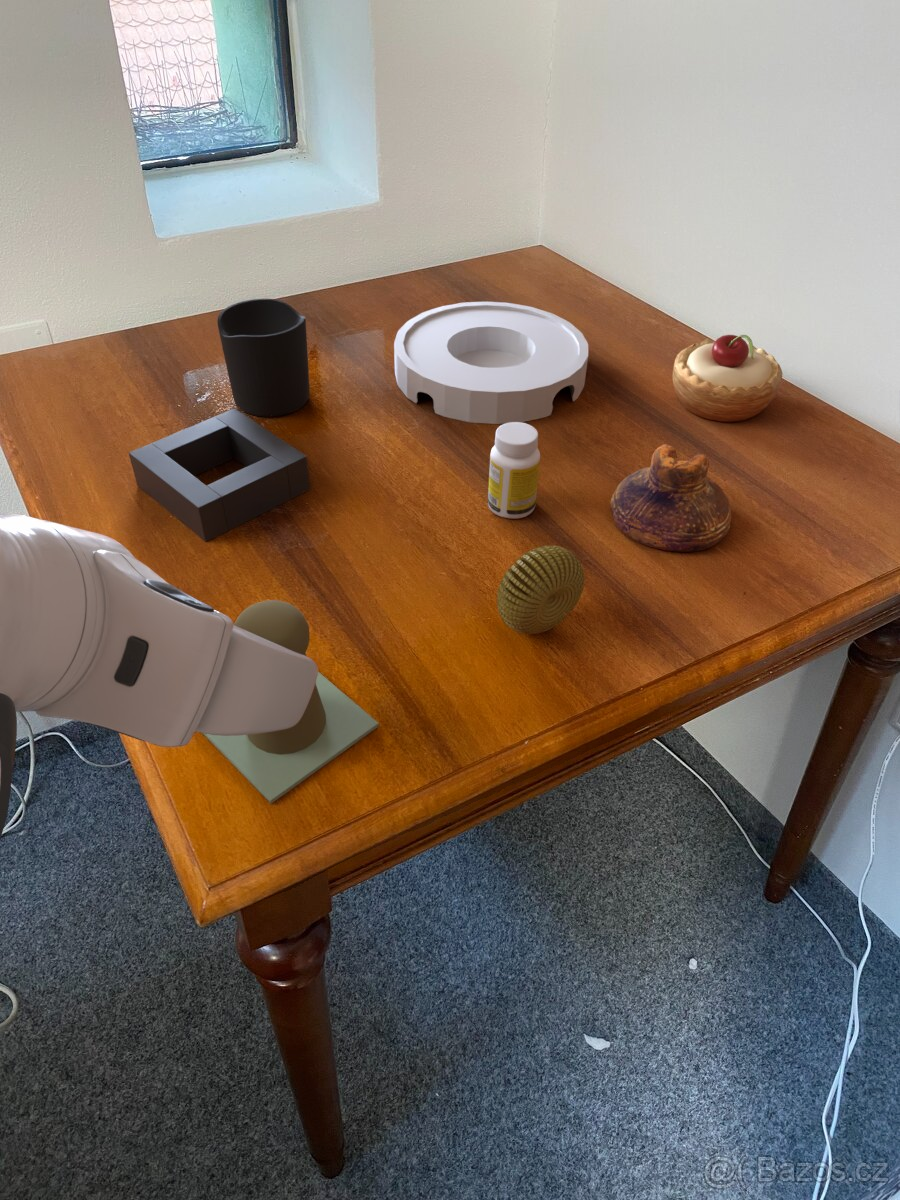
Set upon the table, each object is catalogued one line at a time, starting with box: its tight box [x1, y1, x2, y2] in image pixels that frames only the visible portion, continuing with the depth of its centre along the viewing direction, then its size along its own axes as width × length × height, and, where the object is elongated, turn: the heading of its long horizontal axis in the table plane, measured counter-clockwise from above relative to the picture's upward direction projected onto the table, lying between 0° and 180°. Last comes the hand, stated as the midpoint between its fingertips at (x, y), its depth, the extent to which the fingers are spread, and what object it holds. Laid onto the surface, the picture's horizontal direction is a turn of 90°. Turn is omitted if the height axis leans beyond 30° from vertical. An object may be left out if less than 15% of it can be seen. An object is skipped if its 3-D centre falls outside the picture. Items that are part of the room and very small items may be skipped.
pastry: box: [671, 334, 783, 423], centre depth 100 cm, size 12×12×9 cm
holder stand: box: [128, 408, 311, 543], centre depth 87 cm, size 12×12×4 cm
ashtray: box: [393, 300, 589, 425], centre depth 106 cm, size 23×23×4 cm
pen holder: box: [217, 298, 310, 418], centre depth 98 cm, size 9×9×10 cm
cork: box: [233, 599, 326, 755], centre depth 62 cm, size 6×6×11 cm
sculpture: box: [496, 544, 585, 635], centre depth 72 cm, size 8×4×8 cm, turn 123°
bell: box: [609, 443, 733, 553], centre depth 84 cm, size 12×12×7 cm
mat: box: [202, 671, 380, 804], centre depth 66 cm, size 10×10×1 cm
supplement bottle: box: [487, 422, 541, 520], centre depth 84 cm, size 5×5×8 cm
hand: (218, 635), depth 55 cm, fingers open, 8 cm apart
